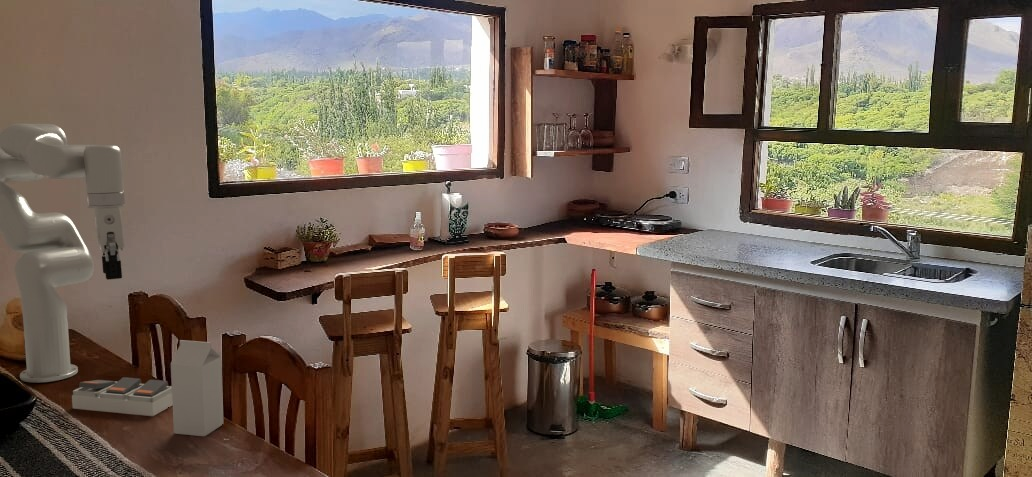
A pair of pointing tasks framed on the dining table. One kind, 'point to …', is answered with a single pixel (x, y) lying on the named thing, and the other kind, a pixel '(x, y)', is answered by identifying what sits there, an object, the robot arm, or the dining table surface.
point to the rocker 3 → (151, 388)
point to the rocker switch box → (121, 401)
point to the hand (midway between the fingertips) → (112, 275)
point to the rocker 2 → (124, 385)
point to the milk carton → (196, 389)
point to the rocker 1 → (96, 384)
